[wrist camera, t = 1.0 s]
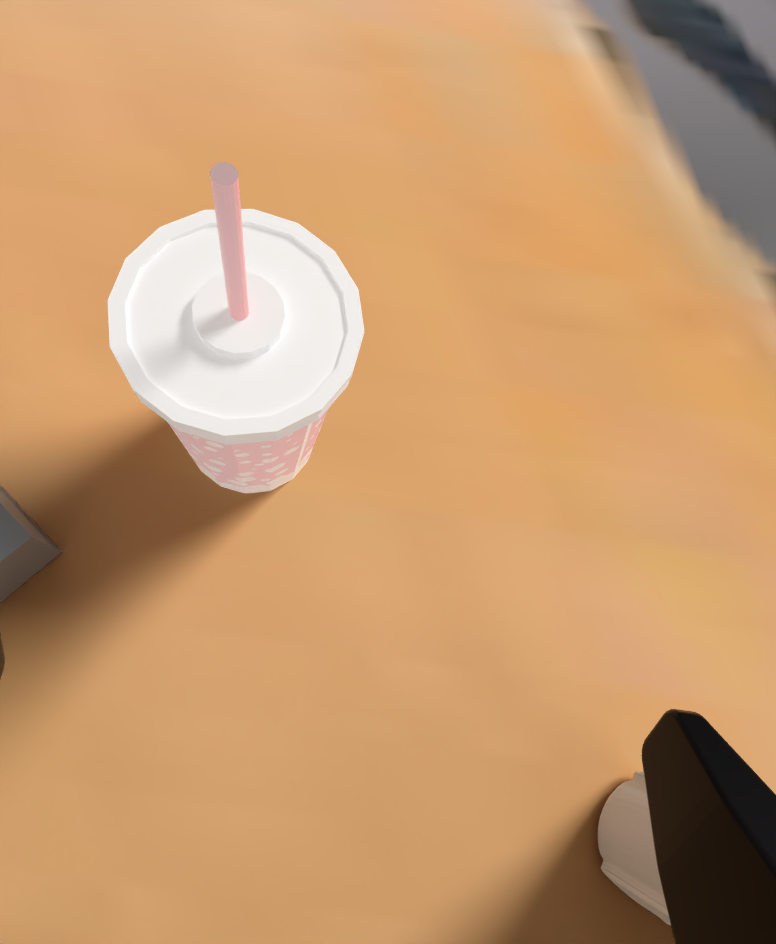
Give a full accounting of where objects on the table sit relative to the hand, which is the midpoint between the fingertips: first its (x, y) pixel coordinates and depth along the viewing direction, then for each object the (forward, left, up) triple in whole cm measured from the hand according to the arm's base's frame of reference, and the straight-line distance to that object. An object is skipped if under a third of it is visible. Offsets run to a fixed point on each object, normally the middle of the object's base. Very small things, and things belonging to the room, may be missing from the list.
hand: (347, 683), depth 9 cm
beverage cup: (+4, +7, -15) cm, 17 cm away
